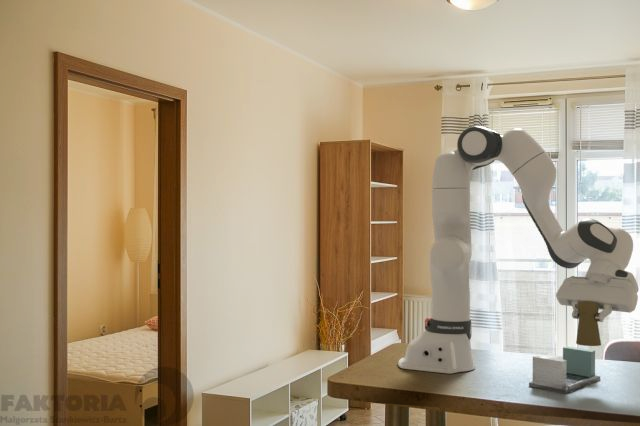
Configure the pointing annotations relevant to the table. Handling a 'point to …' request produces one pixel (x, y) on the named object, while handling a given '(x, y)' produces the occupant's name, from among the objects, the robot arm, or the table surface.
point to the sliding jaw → (579, 361)
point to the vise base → (557, 376)
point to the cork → (588, 324)
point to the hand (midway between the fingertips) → (586, 318)
